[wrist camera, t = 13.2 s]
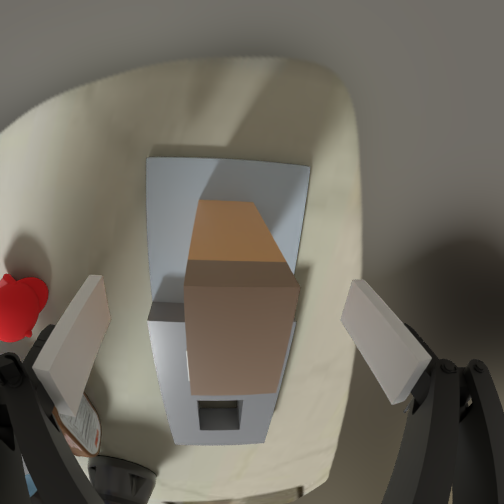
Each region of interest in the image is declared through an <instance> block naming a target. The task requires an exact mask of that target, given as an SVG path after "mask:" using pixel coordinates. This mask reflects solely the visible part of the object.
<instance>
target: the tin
mask: <svg viewBox="0 0 504 504" xmlns="http://www.w3.org/2000/svg"><path fill="white" fill-rule="evenodd" d="M52 413H53V415H54V416H55V418H56V420H57V423H58V425H59V427H60V429H61V431H62V433H63V435H64V437H65V439H66V441H67V443H68V445H69V447H70V449H71V451H72V453H73V454H74V455H76V456H83V457H96V456H97V455H98V454H99V452H100V444H101V435H102V430H101V424H100V420H99V417H98V414H97V412H96V410H95V409H94V407H93V405H92V404H91V402H90V401H89V399H88V397H87V396H86V394H85V393H84V392H83V395H82V398H81V402H80V405H79V408H78V411H77V415H76V417H72V416H68V415H64V414H60V413H59V411H58V410H57V408H56V407H55V405H54V408H53V411H52Z"/></svg>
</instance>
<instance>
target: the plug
mask: <svg viewBox="0 0 504 504" xmlns="http://www.w3.org/2000/svg"><path fill="white" fill-rule="evenodd" d="M183 288H184V312H185V330H186V345H187V358H188V369H189V380H190V390H191V395H207V396H220V395H253V394H269V393H276V391H277V387H278V384H279V380H280V376H281V372H282V368H283V364H284V359H285V355H286V351H287V347H288V343H289V338H290V334H291V329H292V325H293V320H294V316H295V311H296V306H297V302H298V297H299V292H300V286H299V284H298V282H297V280H296V278H295V276H294V274H293V273H292V271H291V269H290V267H289V265H288V263H287V262H286V260H285V258H284V256H283V254H282V253H281V251H280V249H279V247H278V245H277V244H276V242H275V240H274V238H273V236H272V235H271V233H270V231H269V229H268V227H267V226H266V224H265V222H264V220H263V219H262V217H261V215H260V213H259V211H258V210H257V208H256V206H255V204H254V203H253V202H242V201H221V200H199V201H198V206H197V211H196V216H195V221H194V226H193V232H192V237H191V243H190V249H189V254H188V260H187V266H186V273H185V279H184V286H183Z"/></svg>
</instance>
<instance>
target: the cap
mask: <svg viewBox="0 0 504 504" xmlns="http://www.w3.org/2000/svg"><path fill="white" fill-rule="evenodd" d="M47 300H48V288H47V286H46V284H45V283H44V282H43V281H42V280H40V279H38V278H34V277H27V278H23V279H20V280H18V281H16V280H15V279H14V278H13V277H11V275H10V274H4V276H3V278H2V279H1V280H0V340H1V341H4V342H16V341H19V340H21V339H23V338H24V337H25V336H26V337H31V336H32V331H31V330H32V329H33V327H34V326H35V324H36V321H37V319H38V315H39V313H40V312H41V310H42V309H43V308H44V306H45V305H46V303H47Z"/></svg>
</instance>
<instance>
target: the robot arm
mask: <svg viewBox="0 0 504 504" xmlns="http://www.w3.org/2000/svg"><path fill="white" fill-rule="evenodd" d="M340 320H341V322H342V324H343V325H344V327H345V328H346V330H347V331H348V333H349V335H350V336H351V338H352V339H353V341H354V343H355V344H356V346H357V347H358V349H359V351H360V352H361V354H362V355H363V357H364V359H365V360H366V362H367V364H368V365H369V367H370V369H371V370H372V372H373V373H374V375H375V377H376V379H377V380H378V382H379V383H380V385H381V387H382V389H383V390H384V392H385V393H386V395H387V397H388V399H389V401H390V402H391V404H392V405H393V404H396V403H399V402H403V401H405V400H406V398H407V397H408V395H409V394H410V392H411V393H412V395H413V399H412V400H411V401H410V403H409V404H408V405H407V407H406V408H405V410H404V413H405V412H406V411H407V410H408V409H409V413H408V417H407V422H406V426H405V430H404V434H403V439H402V442H401V446H400V450H399V453H398V457H397V460H396V463H395V466H394V470H393V473H392V476H391V479H390V482H389V484H388V487H387V490H386V493H385V495H384V498H383V501H382V503H381V504H448V501H449V496H450V491H451V487H452V491H453V504H504V412H503V409H502V405H501V403H500V400H499V397H498V394H497V391H496V388H495V385H494V383H493V380H492V377H491V375H490V372H489V370H488V368H487V366H486V365H485V364H484V363H483V362H482V361H480V360H477V359H473V360H471V361H470V362H469V363H468V365H467V366H466V367H457V366H456V365H455V364H454V363H453V362H452V361H450V360H447V359H438V357H437V356H436V355H435V354H434V352H433V351H432V350H431V349H430V348H429V346H428V345H427V344H426V343H425V342H423V339H422V338H421V337H419V335H418V334H417V332H416V331H415V330H414V329H413V328H411V327H410V326H409V325H407V324H406V323H404V324H403V323H402V322H401V321H400V319H399V318H398V317H397V316H396V315H395V314H394V313H393V312H392V310H391V309H390V308H389V307H388V306H387V305H386V303H385V302H384V301H383V300H382V299H381V298H380V297H379V296H378V295H377V293H376V292H375V291H374V290H373V289H372V288H371V287H370V286H369V285H368V284H367V283H366V282H365V280H352V282H351V286H350V290H349V293H348V296H347V300H346V303H345V307H344V310H343V313H342V316H341V319H340ZM110 321H111V316H110V311H109V307H108V302H107V297H106V291H105V286H104V280H103V275H89V276H88V278H87V279H86V281H85V282H84V283H83V285H82V286H81V288H80V289H79V291H78V292H77V294H76V295H75V296H74V298H73V299H72V301H71V302H70V304H69V306H68V307H67V309H66V310H65V312H64V313H63V315H62V316H61V318H60V320H59V321H58V323H57V324H56V325H51V324H50V325H48V326H47V327H46V328H45V329H44V330H42V331H41V333H40V335H39V336H38V338H37V340H36V341H35V343H34V344H33V347H32V348H31V350H30V351H29V353H28V355H27V356H26V358H25V360H24V362H23V363H21V361H20V359H19V357H18V355H16V354H15V353H10V352H8V353H4V354H2V355H0V504H147V503H148V500H149V498H150V496H151V494H152V491H153V489H154V487H155V484H156V475H155V474H154V473H153V472H152V471H150V470H148V469H146V468H144V467H142V466H139V465H137V464H134V463H131V462H128V461H124V460H120V459H116V458H111V457H105V456H96V457H90V458H89V461H88V472H89V478H90V481H89V480H88V478H87V476H86V475H85V473H84V472H83V470H82V468H81V467H80V465H79V463H78V461H77V460H76V458H75V456H74V454H73V453H72V451H71V449H70V447H69V445H68V443H67V441H66V439H65V437H64V435H63V433H62V431H61V429H60V427H59V425H58V423H57V420H56V418H55V416H54V415H53V413H52V411H53V408H54V405H55V407H56V408H57V410H58V411H59V413H60V414H64V415H68V416H72V417H76V415H77V411H78V408H79V405H80V402H81V398H82V395H83V392H84V389H85V386H86V383H87V381H88V378H89V375H90V372H91V369H92V367H93V364H94V361H95V358H96V356H97V353H98V351H99V348H100V346H101V343H102V341H103V338H104V336H105V333H106V331H107V328H108V326H109V324H110ZM470 398H472V404H471V405H470V406H468V403H467V402H468V401H469V400H470ZM21 454H22V455H21ZM22 456H23V459H24V462H25V464H26V466H27V469H28V471H29V473H30V474H27V475H25V473H24V468H23V462H22ZM90 482H91V483H90Z"/></svg>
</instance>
